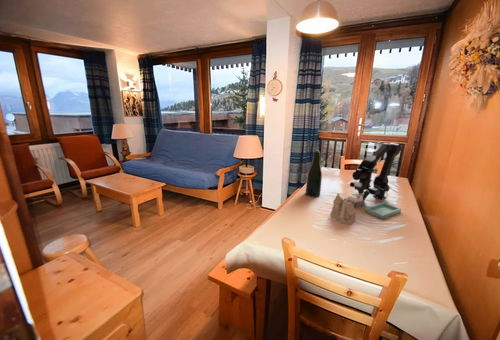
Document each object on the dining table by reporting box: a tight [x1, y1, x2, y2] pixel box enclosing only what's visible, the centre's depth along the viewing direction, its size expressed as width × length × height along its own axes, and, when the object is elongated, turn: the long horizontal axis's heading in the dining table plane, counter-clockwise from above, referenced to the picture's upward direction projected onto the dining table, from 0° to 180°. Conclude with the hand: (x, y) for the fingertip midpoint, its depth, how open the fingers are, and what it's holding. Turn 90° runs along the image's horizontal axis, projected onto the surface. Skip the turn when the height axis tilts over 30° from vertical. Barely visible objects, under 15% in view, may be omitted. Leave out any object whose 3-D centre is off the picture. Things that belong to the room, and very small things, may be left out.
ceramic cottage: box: [330, 192, 356, 226], centre depth 129 cm, size 16×16×15 cm
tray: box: [364, 201, 402, 220], centre depth 137 cm, size 19×11×2 cm, turn 119°
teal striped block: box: [348, 192, 366, 203], centre depth 149 cm, size 12×5×6 cm, turn 119°
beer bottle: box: [305, 149, 323, 198], centre depth 158 cm, size 10×10×33 cm
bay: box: [343, 196, 364, 209], centre depth 147 cm, size 7×9×3 cm
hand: (362, 199), depth 152 cm, fingers closed on teal striped block
